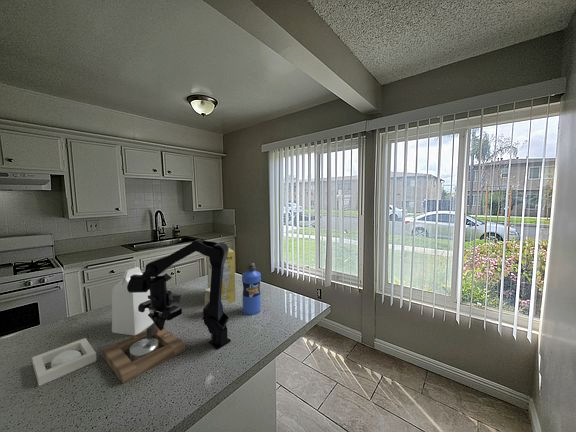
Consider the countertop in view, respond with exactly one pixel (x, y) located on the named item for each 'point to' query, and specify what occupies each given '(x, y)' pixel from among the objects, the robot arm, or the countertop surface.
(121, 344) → the surround
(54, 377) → the frame
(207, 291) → the skincare box
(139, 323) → the milk
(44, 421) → the countertop surface
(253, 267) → the water bottle
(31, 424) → the countertop surface
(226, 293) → the pasta box
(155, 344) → the dial
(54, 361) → the garlic
